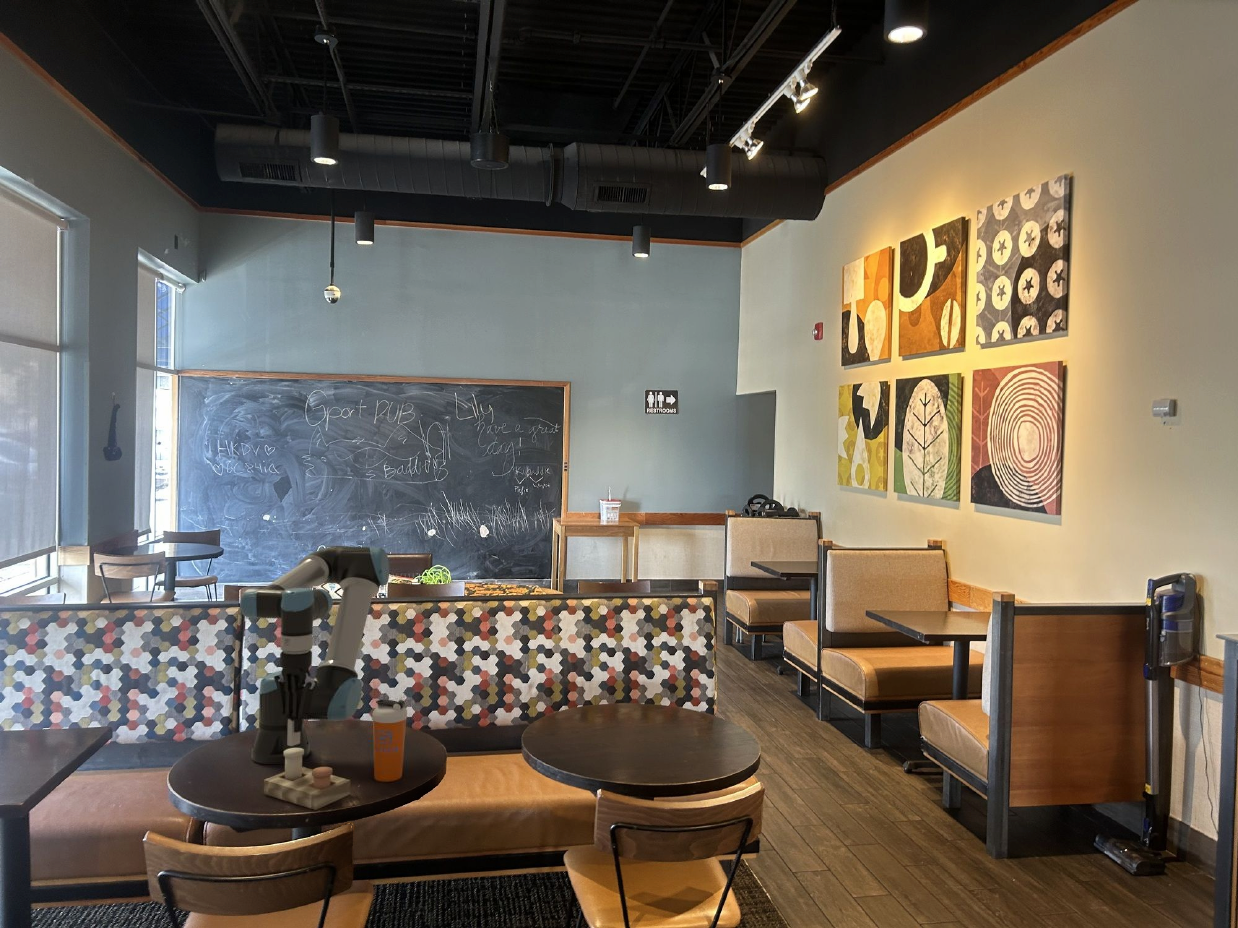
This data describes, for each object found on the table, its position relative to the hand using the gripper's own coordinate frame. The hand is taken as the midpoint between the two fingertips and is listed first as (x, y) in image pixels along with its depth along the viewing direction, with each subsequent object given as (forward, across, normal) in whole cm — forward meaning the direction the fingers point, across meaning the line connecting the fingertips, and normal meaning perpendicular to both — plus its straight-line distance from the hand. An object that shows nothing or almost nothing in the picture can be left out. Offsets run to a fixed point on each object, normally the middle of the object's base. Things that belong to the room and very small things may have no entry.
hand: (293, 743), depth 213 cm
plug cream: (+9, 0, 0) cm, 9 cm away
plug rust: (+12, +10, 0) cm, 15 cm away
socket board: (+12, +5, 0) cm, 13 cm away
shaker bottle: (+12, +14, +19) cm, 27 cm away
